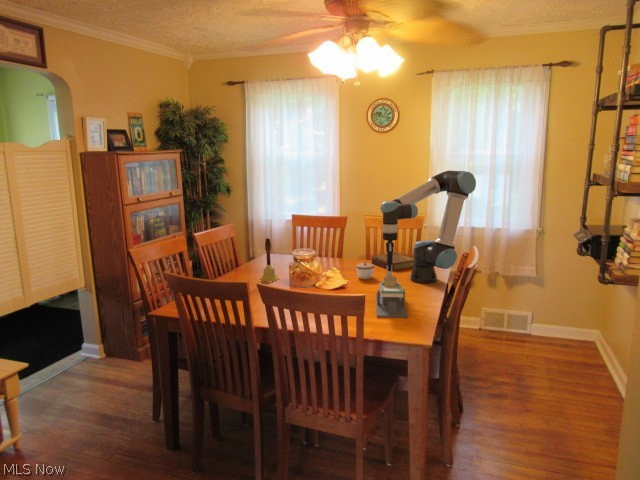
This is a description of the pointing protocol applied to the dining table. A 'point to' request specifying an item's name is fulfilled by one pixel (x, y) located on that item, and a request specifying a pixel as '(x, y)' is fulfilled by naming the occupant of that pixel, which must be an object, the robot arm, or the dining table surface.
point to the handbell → (268, 265)
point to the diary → (394, 261)
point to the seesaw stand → (391, 306)
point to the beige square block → (390, 281)
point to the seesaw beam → (391, 291)
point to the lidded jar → (365, 270)
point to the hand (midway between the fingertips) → (389, 276)
